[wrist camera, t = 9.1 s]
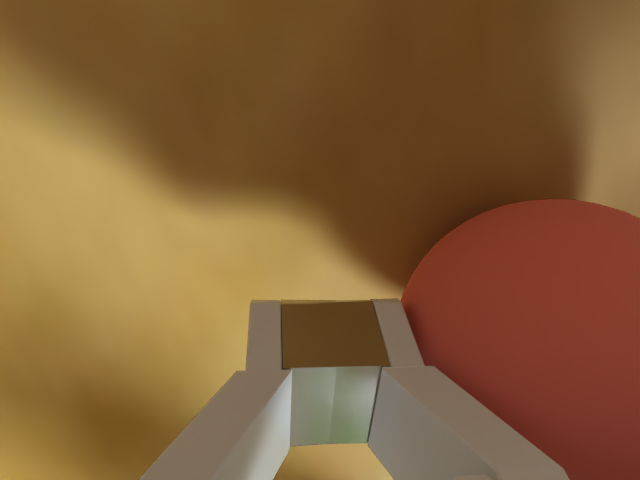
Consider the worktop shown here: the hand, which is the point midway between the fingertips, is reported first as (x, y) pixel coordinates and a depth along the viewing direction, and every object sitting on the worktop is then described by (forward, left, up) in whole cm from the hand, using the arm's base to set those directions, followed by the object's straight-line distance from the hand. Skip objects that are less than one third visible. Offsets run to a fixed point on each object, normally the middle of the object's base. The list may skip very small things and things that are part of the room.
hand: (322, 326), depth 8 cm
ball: (-4, 0, 0) cm, 4 cm away
